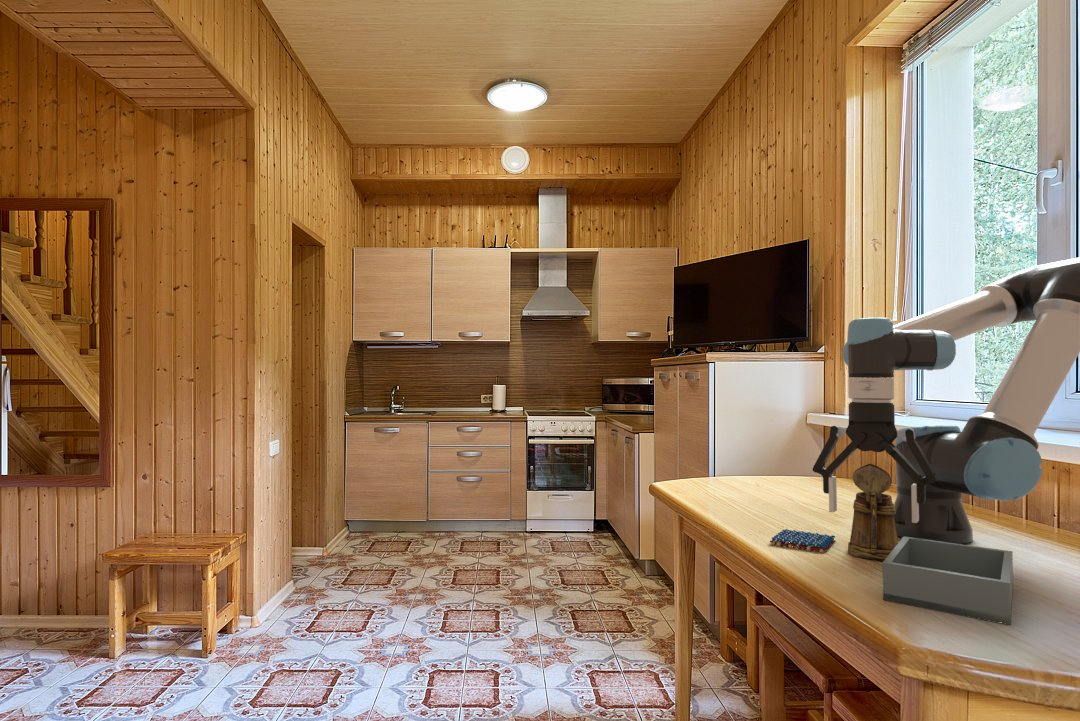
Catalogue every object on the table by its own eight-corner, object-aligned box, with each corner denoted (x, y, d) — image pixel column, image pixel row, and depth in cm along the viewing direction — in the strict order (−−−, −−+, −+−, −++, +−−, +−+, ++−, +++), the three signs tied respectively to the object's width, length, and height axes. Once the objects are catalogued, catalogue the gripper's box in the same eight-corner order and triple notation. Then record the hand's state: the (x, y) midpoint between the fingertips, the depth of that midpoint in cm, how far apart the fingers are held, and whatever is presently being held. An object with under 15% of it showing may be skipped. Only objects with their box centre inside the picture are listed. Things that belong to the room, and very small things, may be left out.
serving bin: (904, 568, 107) (903, 536, 107) (1013, 586, 97) (1012, 551, 97) (883, 599, 91) (882, 562, 91) (1010, 625, 82) (1009, 583, 82)
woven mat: (781, 537, 130) (781, 527, 130) (836, 544, 124) (836, 534, 124) (767, 547, 122) (767, 537, 122) (825, 556, 115) (825, 545, 115)
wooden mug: (843, 563, 110) (841, 461, 110) (849, 545, 121) (848, 454, 122) (900, 571, 105) (899, 465, 106) (901, 552, 117) (900, 457, 117)
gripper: (795, 400, 119) (796, 510, 118) (949, 403, 103) (951, 530, 103) (806, 399, 125) (807, 504, 124) (953, 402, 109) (955, 522, 109)
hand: (872, 516), depth 113 cm, fingers open, 13 cm apart
